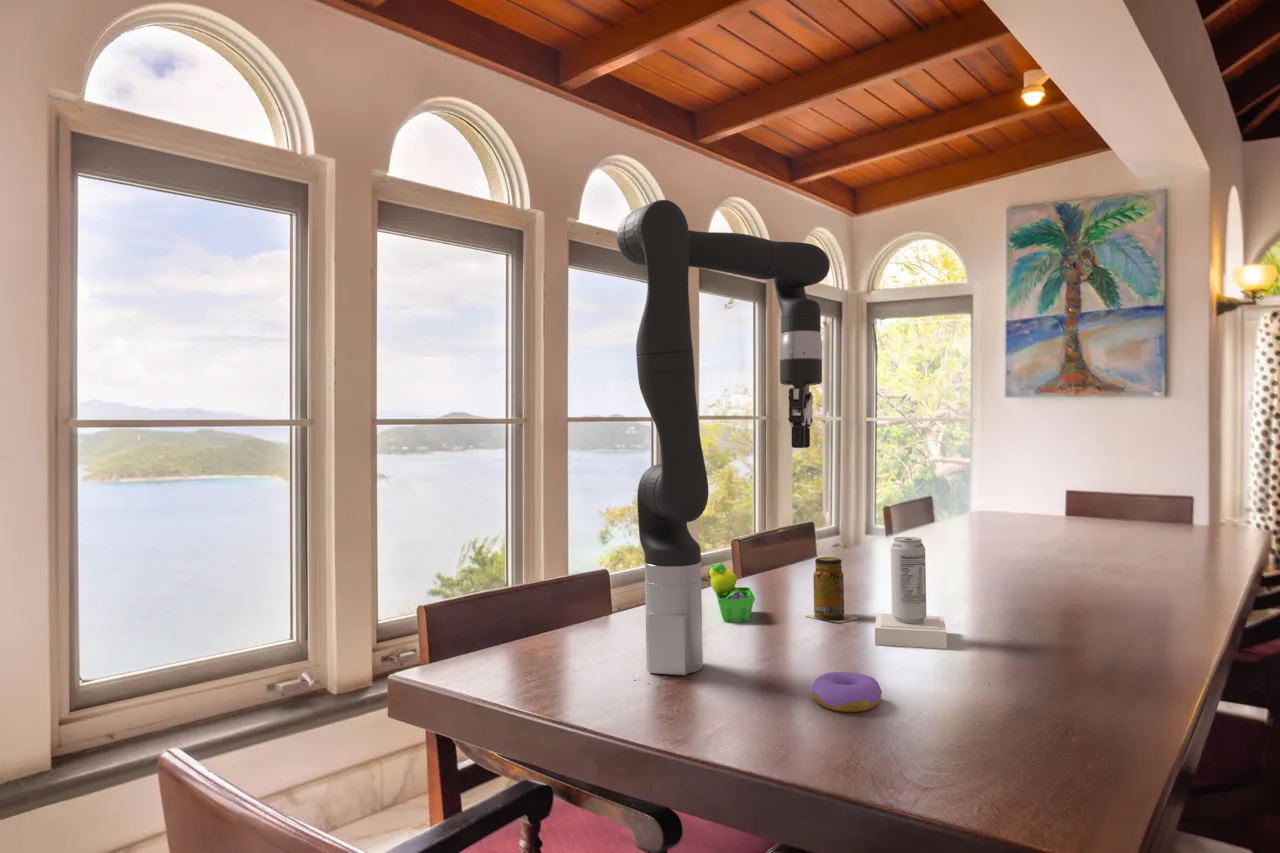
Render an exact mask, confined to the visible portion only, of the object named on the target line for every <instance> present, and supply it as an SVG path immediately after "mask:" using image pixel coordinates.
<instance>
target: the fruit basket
mask: <svg viewBox="0 0 1280 853" xmlns="http://www.w3.org/2000/svg"><path fill="white" fill-rule="evenodd" d="M710 566H711V568H710V570H709V572H708V573H709V577H710V585H711V588H712V590H713V591H714V593H715V596H716V599H717V604H718V607H719V612H720V614H721V618H722V620H723V621H722V622H724V623H742V622H744V623H749V622H750V620H751V615H752V611H753V607H754V606H753V605H754V603H755V600H756V597H755V595H754V593H753V591H752V589H751V587H746V586H743V587H741V586H739V587H737V586H736V584H737V581H738V577H737V575H736V574H735V573H734V572H732V570H730V569H728V568H727V567H726V566H725V565H724V564H723V563H722V562H717V563H715V564H714V563H712V564H711V565H710Z"/></svg>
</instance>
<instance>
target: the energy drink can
mask: <svg viewBox="0 0 1280 853" xmlns="http://www.w3.org/2000/svg"><path fill="white" fill-rule="evenodd" d="M926 567H927V566H926V548H925V546H924V544H923V542H922V538H921V537H915V536H897V537H893V542H892V544H891V546H890V578H891V579H890V581H891V582H890V586H891V614H892V616H894V617H895V621H897V622H900V623H906V624H919V623H922V622H923V620H924V618H926V616H927V582H926V580H927V579H926V578H927V577H926V576H927V572H926Z"/></svg>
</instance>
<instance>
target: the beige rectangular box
mask: <svg viewBox="0 0 1280 853" xmlns="http://www.w3.org/2000/svg"><path fill="white" fill-rule="evenodd" d="M875 616H876V617H875V622H874V623H875V624H874V645H875V646H890V647H891V646H893V647H903V648H904V647H908V648H925V649H937V650H938V649H941V650H947V649H948V640H947V639H948V638H947V636H948V635H947V626H946V623H945V618H944V616H940V615H939V616H938V615H926V618H924V620H923V622H922V623H919V624H906V623H900V622H897V621H895V617H894V616H892V613H879V612H878V613H877V612H876V615H875Z"/></svg>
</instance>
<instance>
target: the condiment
mask: <svg viewBox="0 0 1280 853" xmlns="http://www.w3.org/2000/svg"><path fill="white" fill-rule="evenodd" d="M814 561H815V563H814V564H815V566H814V568H815V570H814V572H813V612H814V613H813V614H808V615H805V617H807V618H810V619H814V620H820V621H828V622H833V623H837V624H838V623H845V622H849V621H851V620H852V621H853V620H857V619H860V618H861V617H859V616H854V615H850V614H849V615H848V614H845V594H844V590H845V588H844V586H845V585H844V584H845V583H844V573H843V571H842V570H843V569H842V568H843V566H842V559H841V558H839V557H832V556H821V557H817V558H815V560H814ZM845 617H846V618H845Z"/></svg>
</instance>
